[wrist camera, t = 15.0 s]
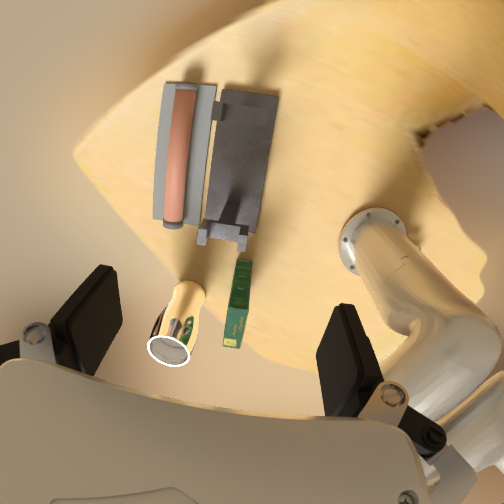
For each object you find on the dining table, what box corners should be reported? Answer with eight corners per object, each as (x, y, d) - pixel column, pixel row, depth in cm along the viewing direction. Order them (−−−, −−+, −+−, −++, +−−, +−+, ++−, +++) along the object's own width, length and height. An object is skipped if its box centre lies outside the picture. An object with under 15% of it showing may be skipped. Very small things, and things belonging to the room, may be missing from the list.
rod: (179, 84, 35) (172, 81, 32) (200, 85, 35) (195, 82, 32) (166, 220, 45) (160, 227, 42) (185, 222, 45) (180, 230, 42)
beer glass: (164, 286, 51) (136, 341, 38) (194, 272, 49) (171, 328, 36) (185, 313, 54) (165, 371, 40) (215, 301, 52) (200, 361, 39)
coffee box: (245, 299, 52) (240, 351, 40) (229, 296, 51) (220, 347, 40) (253, 261, 48) (250, 309, 36) (236, 258, 48) (228, 305, 36)
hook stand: (278, 97, 36) (285, 87, 24) (255, 230, 45) (252, 272, 34) (223, 90, 36) (205, 77, 24) (206, 222, 45) (185, 261, 33)
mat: (216, 86, 36) (216, 86, 35) (199, 224, 45) (199, 225, 45) (165, 83, 35) (164, 83, 35) (153, 218, 45) (152, 218, 45)
